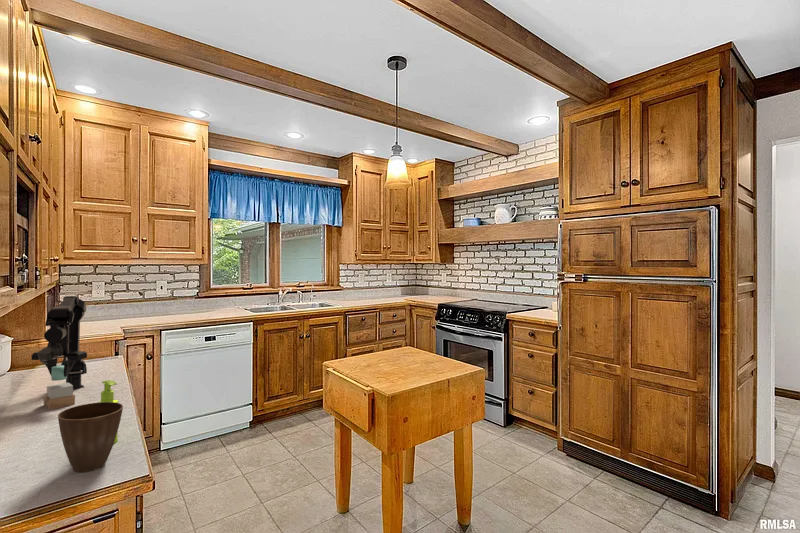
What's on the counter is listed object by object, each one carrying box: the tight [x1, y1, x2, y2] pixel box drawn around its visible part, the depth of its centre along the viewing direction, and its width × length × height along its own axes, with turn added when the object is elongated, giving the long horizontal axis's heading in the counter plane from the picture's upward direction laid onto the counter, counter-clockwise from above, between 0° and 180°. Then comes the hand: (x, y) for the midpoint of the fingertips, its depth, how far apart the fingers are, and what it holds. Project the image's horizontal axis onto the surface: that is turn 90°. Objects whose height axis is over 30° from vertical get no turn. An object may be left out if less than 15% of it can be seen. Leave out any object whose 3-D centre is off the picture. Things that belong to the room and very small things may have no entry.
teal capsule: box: [50, 364, 67, 382], centre depth 170 cm, size 5×5×5 cm
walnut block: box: [43, 393, 76, 410], centre depth 170 cm, size 8×8×4 cm
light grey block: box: [46, 382, 74, 399], centre depth 170 cm, size 7×7×4 cm
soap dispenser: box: [99, 379, 119, 444], centre depth 134 cm, size 6×7×20 cm
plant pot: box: [57, 401, 124, 473], centre depth 118 cm, size 15×15×16 cm
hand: (59, 376), depth 170 cm, fingers closed on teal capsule, 5 cm apart
